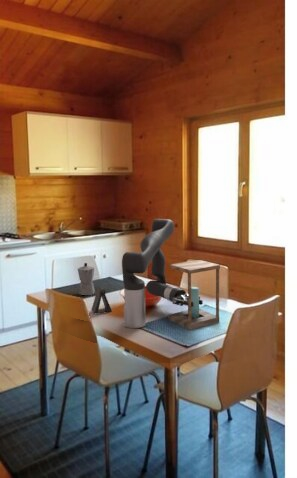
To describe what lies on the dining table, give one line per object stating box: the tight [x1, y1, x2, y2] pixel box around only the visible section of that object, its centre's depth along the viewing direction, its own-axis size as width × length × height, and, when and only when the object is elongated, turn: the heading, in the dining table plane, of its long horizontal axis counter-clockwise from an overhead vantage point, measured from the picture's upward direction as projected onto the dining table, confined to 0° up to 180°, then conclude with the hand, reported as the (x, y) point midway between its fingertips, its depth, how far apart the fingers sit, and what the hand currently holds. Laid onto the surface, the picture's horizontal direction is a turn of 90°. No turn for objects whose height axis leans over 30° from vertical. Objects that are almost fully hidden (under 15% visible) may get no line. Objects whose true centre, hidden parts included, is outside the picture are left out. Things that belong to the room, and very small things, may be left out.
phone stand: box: [90, 286, 113, 314], centre depth 216 cm, size 9×6×12 cm, turn 111°
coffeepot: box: [77, 262, 96, 296], centre depth 248 cm, size 15×9×18 cm, turn 12°
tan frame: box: [167, 259, 221, 331], centre depth 198 cm, size 16×17×27 cm
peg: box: [191, 286, 200, 319], centre depth 199 cm, size 5×5×14 cm
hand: (197, 303), depth 196 cm, fingers closed on peg, 4 cm apart
